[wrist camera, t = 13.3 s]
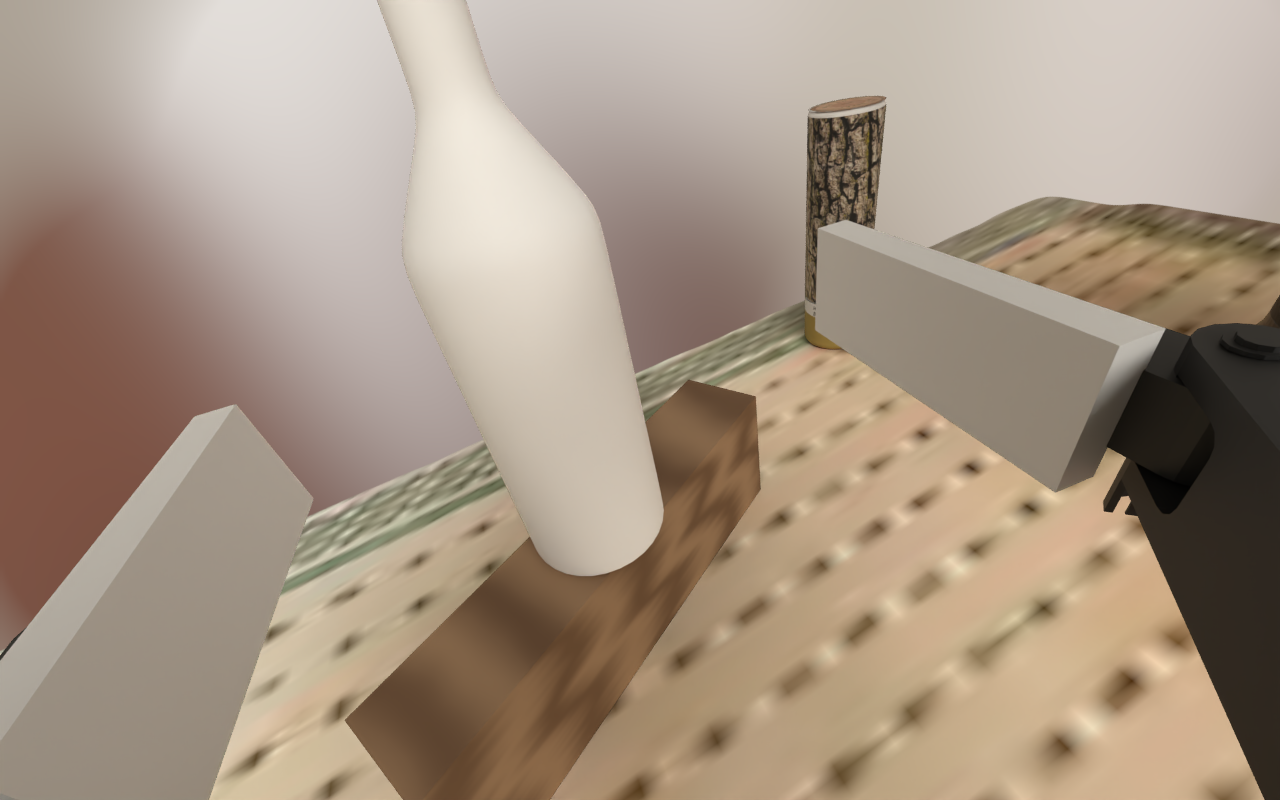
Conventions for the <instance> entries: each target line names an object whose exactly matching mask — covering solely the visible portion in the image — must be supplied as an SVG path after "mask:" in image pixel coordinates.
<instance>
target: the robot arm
mask: <svg viewBox="0 0 1280 800" xmlns="http://www.w3.org/2000/svg"><path fill="white" fill-rule="evenodd" d="M815 330H816V331H817V332H819V333H820V334H822V335H823V336H825V337H826V338H828V339H829V340H831V341H832V342H833V343H835V344H836V345H838V346H839V347H841V348H842V349H844V350H845V351H847V352H848V353H850V354H851V355H853V356H854V357H856V358H857V359H859V360H860V361H862V362H863V363H865V364H866V365H868V366H869V367H870V368H872V369H873V370H875V371H876V372H878V373H879V374H881V375H882V376H884V377H885V378H887V379H888V380H890V381H891V382H893V383H894V384H896V385H897V386H899V387H900V388H902V389H903V390H904V391H906V392H907V393H909V394H910V395H912V396H913V397H915V398H916V399H918V400H919V401H921V402H922V403H924V404H925V405H927V406H928V407H930V408H931V409H933V410H934V411H936V412H937V413H939V414H940V415H941V416H943V417H944V418H946V419H947V420H949V421H950V422H952V423H953V424H955V425H956V426H958V427H959V428H961V429H962V430H964V431H965V432H967V433H968V434H970V435H971V436H973V437H974V438H975V439H977V440H978V441H980V442H981V443H983V444H984V445H986V446H987V447H989V448H990V449H992V450H993V451H995V452H996V453H998V454H999V455H1001V456H1002V457H1004V458H1005V459H1007V460H1008V461H1010V462H1011V463H1012V464H1014V465H1015V466H1017V467H1018V468H1020V469H1021V470H1023V471H1024V472H1026V473H1027V474H1029V475H1030V476H1032V477H1033V478H1035V479H1036V480H1038V481H1039V482H1041V483H1042V484H1044V485H1045V486H1046V487H1048V488H1049V489H1051V490H1052V491H1054V492H1058V491H1060V490H1063V489H1065V488H1067V487H1070V486H1072V485H1074V484H1077V483H1079V482H1081V481H1084V480H1086V479H1088V478H1091V477H1093V476H1094V474H1095V472H1096V470H1097V468H1098V466H1099V464H1100V462H1101V460H1102V458H1103V456H1104V453H1105V451H1106V449H1107V447H1108V448H1110V449H1112V450H1114V451H1116V452H1117V453H1119V454H1121V455H1123V456H1125V457H1126V459H1125V461H1124V463H1123V465H1122V467H1121V469H1120V471H1119V472H1118V474H1117V476H1116V478H1115V480H1114V482H1113V484H1112V486H1111V488H1110V490H1109V491H1108V493H1107V495H1106V497H1105V499H1104V501H1103V506H1104V511H1105V512H1112V513H1113V511H1114V509H1115V507H1116V505H1117V503H1118V502H1119V500H1120V498H1121V497H1123V496H1129V498H1130V500H1131V502H1130V504H1129V506H1128V508H1127V509H1126V511H1125V514H1127V515H1134V516H1138V518H1139V520H1140V522H1141V524H1142V527H1143V529H1144V531H1145V533H1146V536H1147V538H1148V540H1149V542H1150V544H1151V547H1152V549H1153V551H1154V553H1155V556H1156V558H1157V560H1158V562H1159V565H1160V567H1161V569H1162V571H1163V574H1164V576H1165V578H1166V580H1167V582H1168V585H1169V587H1170V589H1171V591H1172V594H1173V596H1174V598H1175V600H1176V603H1177V605H1178V607H1179V609H1180V612H1181V614H1182V616H1183V618H1184V621H1185V623H1186V625H1187V627H1188V629H1189V632H1190V634H1191V636H1192V638H1193V641H1194V643H1195V645H1196V647H1197V650H1198V652H1199V654H1200V656H1201V659H1202V661H1203V663H1204V665H1205V667H1206V670H1207V672H1208V674H1209V676H1210V679H1211V681H1212V683H1213V685H1214V688H1215V690H1216V692H1217V694H1218V697H1219V699H1220V701H1221V703H1222V705H1223V708H1224V710H1225V712H1226V714H1227V717H1228V719H1229V721H1230V723H1231V726H1232V728H1233V730H1234V732H1235V735H1236V737H1237V739H1238V741H1239V743H1240V746H1241V748H1242V750H1243V752H1244V755H1245V757H1246V759H1247V761H1248V764H1249V766H1250V768H1251V770H1252V773H1253V775H1254V777H1255V779H1256V781H1257V784H1258V786H1259V788H1260V790H1261V793H1262V795H1263V797H1264V799H1265V800H1280V295H1279V297H1278V299H1277V300H1276V302H1275V304H1274V305H1273V307H1272V309H1271V310H1270V312H1269V313H1268V314H1267V316H1266V317H1265V318H1264V319H1263V320H1262V321H1260V322H1259V323H1258V324H1257V325H1252V324H1240V323H1232V324H1214V325H1210V326H1207V327H1203V328H1199V329H1197V330H1196V331H1195V332H1194V333H1193V334H1192V335H1191V336H1187V335H1184V334H1181V333H1178V332H1175V331H1172V330H1169V329H1166V328H1163V327H1160V326H1157V325H1154V324H1151V323H1149V322H1146V321H1143V320H1140V319H1137V318H1134V317H1131V316H1128V315H1125V314H1122V313H1119V312H1116V311H1113V310H1110V309H1107V308H1104V307H1101V306H1098V305H1096V304H1092V303H1089V302H1087V301H1084V300H1081V299H1078V298H1075V297H1072V296H1069V295H1066V294H1063V293H1060V292H1057V291H1054V290H1051V289H1048V288H1045V287H1042V286H1040V285H1037V284H1033V283H1030V282H1028V281H1025V280H1022V279H1019V278H1016V277H1013V276H1010V275H1007V274H1004V273H1001V272H998V271H995V270H992V269H989V268H986V267H983V266H980V265H977V264H974V263H972V262H969V261H966V260H963V259H960V258H957V257H954V256H951V255H948V254H945V253H942V252H939V251H936V250H933V249H930V248H927V247H924V246H921V245H918V244H916V243H913V242H910V241H907V240H904V239H901V238H898V237H895V236H892V235H889V234H886V233H883V232H880V231H877V230H874V229H871V228H868V227H865V226H863V225H860V224H857V223H854V222H851V221H848V220H844V221H840V222H837V223H834V224H831V225H827V226H824V227H821V228H818V240H817V278H816V316H815ZM312 502H313V497H312V496H311V495H310V494H309V492H308V491H307V490H306V489H305V488H304V486H303V485H302V484H301V483H300V481H299V480H298V479H297V478H296V477H295V475H293V473H292V472H291V471H290V469H289V468H288V467H287V466H286V464H285V463H284V462H283V461H282V460H281V458H280V457H279V456H278V455H277V453H276V452H275V451H274V450H273V449H272V447H271V446H270V445H269V444H268V442H267V441H266V440H265V439H264V438H263V437H262V435H261V434H260V433H259V432H258V430H257V429H256V428H255V427H254V426H253V424H252V423H251V422H250V421H249V420H248V418H247V417H246V416H245V414H244V413H243V412H242V411H241V410H240V408H239V407H238V406H237V405H236V404H235V405H231V406H228V407H225V408H221V409H218V410H214V411H211V412H208V413H205V414H201V415H198V416H195V417H194V418H193V419H192V421H191V422H190V423H189V424H188V426H187V427H186V428H185V429H184V431H183V432H182V433H181V434H180V436H179V437H178V439H176V441H175V442H174V443H173V444H172V446H171V447H170V448H169V449H168V451H167V452H166V453H165V455H164V456H163V457H162V458H161V459H160V461H159V462H158V463H157V465H156V466H155V467H154V468H153V470H152V471H151V472H150V473H149V475H148V476H147V477H146V478H145V480H144V481H143V482H142V483H141V485H140V486H139V487H138V489H137V490H136V491H135V492H134V494H133V495H132V496H131V497H130V498H129V500H128V501H127V502H126V504H125V505H124V506H123V507H122V508H121V510H120V511H119V512H118V513H117V515H116V516H115V517H114V519H113V520H112V521H111V522H110V524H109V525H108V526H107V527H106V529H105V530H104V531H103V532H102V534H101V535H100V536H99V537H98V539H97V540H96V541H95V543H94V544H93V545H92V546H91V547H90V549H89V550H88V551H87V553H86V554H85V555H84V556H83V557H82V559H81V560H80V561H79V562H78V564H77V565H76V566H75V567H74V569H73V570H72V571H71V573H70V574H69V575H68V576H67V578H66V579H65V580H64V581H63V583H62V584H61V585H60V586H59V588H58V589H57V590H56V591H55V593H54V594H53V595H52V596H51V598H50V599H49V600H48V601H47V603H46V604H45V605H44V606H43V608H42V609H41V610H40V611H39V613H38V614H37V615H36V616H35V618H34V619H33V620H32V622H31V623H30V624H29V625H28V626H27V627H26V628H25V629H24V630H23V631H22V632H21V633H20V634H18V635H17V636H16V637H15V638H14V639H13V640H12V641H11V643H10V644H9V645H8V646H7V648H6V649H5V650H4V651H3V653H2V654H1V655H0V800H209V798H210V795H211V792H212V789H213V786H214V783H215V780H216V778H217V775H218V772H219V769H220V766H221V763H222V760H223V757H224V755H225V752H226V749H227V746H228V743H229V740H230V737H231V735H232V732H233V729H234V726H235V723H236V720H237V717H238V714H239V712H240V709H241V706H242V703H243V700H244V697H245V694H246V691H247V689H248V686H249V683H250V680H251V677H252V674H253V671H254V668H255V666H256V663H257V660H258V657H259V654H260V651H261V648H262V645H263V643H264V640H265V637H266V634H267V631H268V628H269V625H270V622H271V620H272V617H273V614H274V611H275V608H276V605H277V602H278V599H279V597H280V594H281V591H282V588H283V585H284V582H285V579H286V576H287V574H288V571H289V568H290V565H291V562H292V559H293V556H294V553H295V551H296V548H297V545H298V542H299V539H300V536H301V533H302V530H303V528H304V525H305V522H306V519H307V516H308V513H309V510H310V508H311V505H312Z"/></svg>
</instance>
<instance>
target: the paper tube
mask: <svg viewBox="0 0 1280 800" xmlns="http://www.w3.org/2000/svg"><path fill="white" fill-rule="evenodd" d="M885 99H886V97H884V96H863V97H855V98H848V99H842V100H836V101H831V102H827V103H823V104H819V105H816V106H814V107H811V108H809V109H808V110H809V114H808V136H807V138H808V140H807V201H806V203H807V204H806V205H807V207H806V266H805V267H806V269H805V337H806V338H807V340H808V341H809V342H810V343H811V344H813V345H815V346H818V347H821V348H825V349H842V348H841V347H839V346H838V345H836V344H835V343H833V342H832V341H831V340H829V339H828V338H826V337H825V336H823V335H822V334H820V333H819V332H817V331H816V330H815V316H816V278H817V240H818V228H821V227H824V226H827V225H831V224H834V223H837V222H840V221H844V220H848V221H851V222H854V223H857V224H860V225H863V226H865V227H868V228H871V229H874V226H875V216H876V206H877V196H878V185H879V175H880V164H881V153H882V142H883V132H884V122H885V111H886V102H885Z"/></svg>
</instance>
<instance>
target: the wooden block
mask: <svg viewBox="0 0 1280 800" xmlns="http://www.w3.org/2000/svg"><path fill="white" fill-rule="evenodd" d="M645 423H646V428H647V432H648V437H649V441H650V446H651V450H652V455H653V459H654V464H655V468H656V473H657V477H658V482H659V487H660V491H661V496H662V502H663V508H664V513H663V522H662V525H661V528H660V531H659V533H658V535H657V536H656V538H655V540H654V542H653V543H652V544H651V545H650V547H649V548H648V549H647V550H646V551H645V552H644V553H643V554H642V555H641V556H639V557H638V558H637V559H636V560H634V561H633V562H631V563H629V564H628V565H626V566H624V567H622V568H620V569H618V570H615V571H612V572H609V573H606V574H601V575H596V576H575V575H570V574H566V573H563V572H561V571H558V570H556V569H554V568H553V567H551V566H550V565H549V564H547V563H546V562H545V561H544V560H543V559H542V557H541V556H540V555H539V554H538V552H537V550H536V548H535V546H534V544H533V542H532V540H531V538H530V537H529V538H528V539H527V540H526V541H525V542H524V543H523V544H522V545H521V546H520V547H519V548H518V549H517V550H516V551H515V552H514V553H513V554H512V555H511V556H510V557H509V558H508V559H507V560H506V561H505V562H504V563H503V564H502V565H501V566H500V567H499V568H498V569H497V570H496V571H495V572H494V573H493V574H492V575H491V576H490V577H489V578H488V579H487V580H486V581H485V582H484V583H483V584H482V585H481V586H480V587H479V588H478V589H477V590H476V591H475V592H474V593H473V594H472V595H471V596H470V597H469V598H468V599H467V600H466V601H465V602H464V603H463V604H462V605H461V606H460V607H458V608H457V609H456V610H455V611H454V612H453V613H452V614H451V615H450V616H449V617H448V618H447V619H446V620H445V621H444V622H443V623H442V624H441V625H440V626H439V627H438V628H437V629H436V630H435V631H434V632H433V633H432V634H431V635H430V636H429V637H428V638H427V639H426V640H425V641H424V642H423V643H422V644H421V645H420V646H419V647H418V648H417V649H416V650H415V651H414V652H413V653H412V654H411V655H410V656H409V657H408V658H407V659H406V660H405V661H404V662H403V663H402V664H401V665H400V666H399V667H398V668H397V669H396V670H395V671H394V672H393V673H392V674H391V675H390V676H389V677H388V678H387V679H386V680H385V681H384V682H383V683H382V684H381V685H380V686H379V687H378V688H377V689H376V690H375V691H374V692H373V693H372V694H371V695H370V696H369V697H368V698H367V699H366V700H365V701H364V702H363V703H362V704H361V705H360V706H359V707H358V708H356V709H355V710H354V711H353V712H352V713H351V714H350V715H349V716H348V717H347V718H346V719H345V721H346V723H347V724H348V726H349V727H350V728H351V730H352V731H353V732H354V734H355V735H356V736H357V738H358V739H359V741H360V742H361V743H362V745H363V746H364V747H365V749H366V750H367V751H368V753H369V754H370V755H371V757H372V758H373V760H374V761H375V762H376V764H377V765H378V766H379V768H380V769H381V770H382V772H383V773H384V775H385V776H386V777H387V779H388V780H389V781H390V783H391V784H392V785H393V787H394V788H395V789H396V791H397V792H398V794H399V795H400V796H401V798H402V799H403V800H550V799H551V797H552V796H553V794H554V793H555V791H556V790H557V788H558V787H559V785H560V784H561V782H562V781H563V779H564V778H565V777H566V775H567V774H568V772H569V771H570V769H571V768H572V766H573V765H574V763H575V762H576V760H577V759H578V757H579V756H580V754H581V753H582V751H583V750H584V749H585V747H586V746H587V744H588V743H589V741H590V740H591V738H592V737H593V735H594V734H595V732H596V731H597V729H598V728H599V726H600V725H601V723H602V722H603V721H604V719H605V718H606V716H607V715H608V713H609V712H610V710H611V709H612V707H613V706H614V704H615V703H616V701H617V700H618V698H619V697H620V695H621V694H622V693H623V691H624V690H625V688H626V687H627V685H628V684H629V682H630V681H631V679H632V678H633V676H634V675H635V673H636V672H637V670H638V669H639V667H640V666H641V665H642V663H643V662H644V660H645V659H646V657H647V656H648V654H649V653H650V651H651V650H652V648H653V647H654V645H655V644H656V642H657V641H658V639H659V638H660V636H661V635H662V634H663V632H664V631H665V629H666V628H667V626H668V625H669V623H670V622H671V620H672V619H673V617H674V616H675V614H676V613H677V611H678V610H679V608H680V607H681V606H682V604H683V603H684V601H685V600H686V598H687V597H688V595H689V594H690V592H691V591H692V589H693V588H694V586H695V585H696V583H697V582H698V580H699V579H700V578H701V576H702V575H703V573H704V572H705V570H706V569H707V567H708V566H709V564H710V563H711V561H712V560H713V558H714V557H715V555H716V554H717V552H718V551H719V550H720V548H721V547H722V545H723V544H724V542H725V541H726V539H727V538H728V536H729V535H730V533H731V532H732V530H733V529H734V527H735V526H736V524H737V523H738V522H739V520H740V519H741V517H742V516H743V514H744V513H745V511H746V510H747V508H748V507H749V505H750V504H751V502H752V501H753V499H754V498H755V496H756V495H757V494H758V492H759V491H760V489H761V488H760V469H759V450H758V432H757V413H756V396H752V395H748V394H744V393H740V392H736V391H732V390H728V389H724V388H720V387H716V386H711V385H707V384H703V383H699V382H695V381H691V380H688V381H687V382H686V383H685V384H684V385H683V386H682V387H681V388H680V389H679V390H678V391H677V392H676V393H675V394H674V395H673V396H672V397H671V398H670V399H669V400H668V401H667V402H666V403H665V404H664V405H663V406H661V407H660V408H659V409H658V410H657V411H656V412H655V413H654V414H653V415H652V416H651V417H650V418H649V419H648V420H647V421H646V422H645Z"/></svg>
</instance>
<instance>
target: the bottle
mask: <svg viewBox="0 0 1280 800" xmlns="http://www.w3.org/2000/svg"><path fill="white" fill-rule="evenodd" d="M377 2H378V5H379V7H380V10H381V12H382V15H383V18H384V21H385V23H386V26H387V29H388V31H389V34H390V37H391V39H392V42H393V45H394V48H395V50H396V53H397V56H398V59H399V61H400V64H401V67H402V69H403V72H404V75H405V78H406V81H407V84H408V87H409V90H410V93H411V96H412V101H413V105H414V109H415V115H416V133H415V144H414V150H413V158H412V166H411V172H410V180H409V186H408V193H407V201H406V208H405V216H404V227H403V238H402V257H403V261H404V265H405V268H406V273H407V275H408V278H409V281H410V283H411V285H412V288H413V290H414V292H415V295H416V297H417V299H418V302H419V304H420V306H421V308H422V310H423V312H424V314H425V317H426V319H427V321H428V323H429V325H430V327H431V329H432V331H433V334H434V335H435V338H436V340H437V342H438V344H439V346H440V348H441V350H442V352H443V355H444V357H445V359H446V361H447V363H448V365H449V367H450V369H451V371H452V373H453V376H454V378H455V380H456V382H457V384H458V386H459V388H460V390H461V392H462V394H463V397H464V399H465V401H466V403H467V405H468V407H469V409H470V411H471V414H472V415H473V418H474V420H475V422H476V424H477V426H478V428H479V430H480V432H481V435H482V437H483V439H484V441H485V443H486V445H487V447H488V449H489V451H490V454H491V456H492V458H493V460H494V462H495V464H496V466H497V468H498V470H499V472H500V475H501V477H502V479H503V481H504V483H505V485H506V487H507V489H508V491H509V494H510V496H511V498H512V500H513V502H514V504H515V506H516V508H517V510H518V512H519V515H520V517H521V519H522V521H523V523H524V525H525V527H526V529H527V531H528V533H529V536H530V538H531V540H532V542H533V544H534V546H535V548H536V550H537V552H538V554H539V555H540V556H541V557H542V559H543V560H544V561H545V562H546V563H547V564H549V565H550V566H551V567H553V568H554V569H556V570H558V571H561V572H563V573H566V574H570V575H575V576H596V575H601V574H606V573H609V572H612V571H615V570H618V569H620V568H622V567H624V566H626V565H628V564H629V563H631V562H633V561H634V560H636V559H637V558H638V557H639V556H641V555H642V554H643V553H644V552H645V551H646V550H647V549H648V548H649V547H650V545H651V544H652V543H653V542H654V540H655V538H656V536H657V535H658V533H659V531H660V528H661V525H662V522H663V513H664V508H663V502H662V496H661V491H660V487H659V482H658V477H657V473H656V468H655V464H654V459H653V455H652V450H651V446H650V441H649V437H648V432H647V428H646V423H645V419H644V414H643V410H642V405H641V401H640V396H639V391H638V387H637V382H636V378H635V373H634V369H633V364H632V360H631V355H630V351H629V346H628V342H627V337H626V333H625V328H624V324H623V319H622V315H621V310H620V305H619V301H618V296H617V292H616V287H615V283H614V278H613V274H612V270H611V265H610V260H609V256H608V251H607V247H606V243H605V239H604V235H603V232H602V228H601V224H600V221H599V218H598V216H597V213H596V211H595V208H594V206H593V205H592V203H591V202H590V201H589V199H588V198H587V196H586V195H585V194H584V192H583V191H582V190H581V189H580V188H579V187H578V185H577V184H576V183H575V182H574V181H573V179H572V178H571V177H570V176H569V175H568V174H567V173H566V172H565V170H564V169H563V168H562V167H561V166H560V165H559V164H558V163H557V162H556V161H555V159H554V158H553V157H552V156H551V155H550V154H549V153H548V152H547V151H546V150H545V149H544V148H543V146H542V145H541V144H540V143H539V142H538V141H537V140H536V139H535V138H534V137H533V136H532V135H531V133H530V132H529V131H528V130H527V129H526V128H525V127H524V126H523V125H522V124H521V123H520V122H519V120H517V118H516V117H515V116H514V115H513V114H512V112H511V111H510V110H509V109H508V108H507V107H506V105H505V104H504V102H503V101H502V99H501V97H500V96H499V94H498V93H497V90H496V88H495V86H494V84H493V81H492V79H491V77H490V74H489V71H488V68H487V65H486V62H485V59H484V56H483V53H482V50H481V47H480V44H479V41H478V38H477V34H476V31H475V28H474V25H473V21H472V18H471V15H470V12H469V9H468V5H467V2H466V0H377Z"/></svg>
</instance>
